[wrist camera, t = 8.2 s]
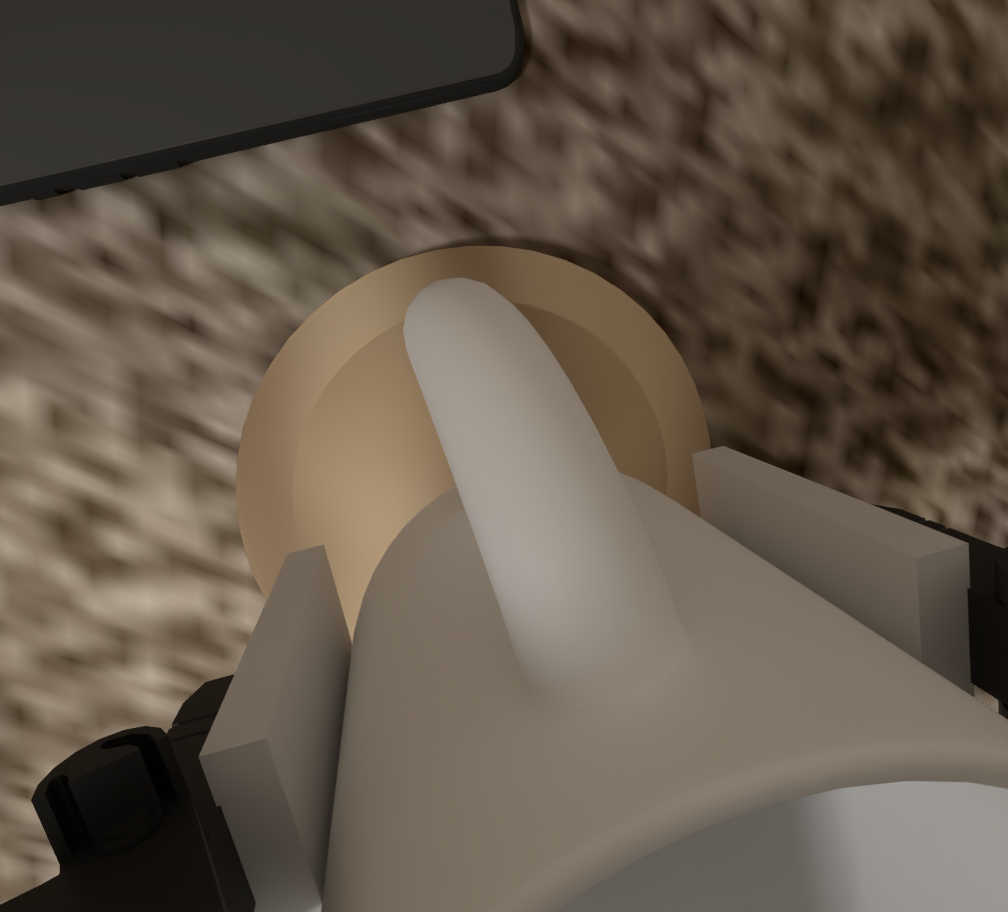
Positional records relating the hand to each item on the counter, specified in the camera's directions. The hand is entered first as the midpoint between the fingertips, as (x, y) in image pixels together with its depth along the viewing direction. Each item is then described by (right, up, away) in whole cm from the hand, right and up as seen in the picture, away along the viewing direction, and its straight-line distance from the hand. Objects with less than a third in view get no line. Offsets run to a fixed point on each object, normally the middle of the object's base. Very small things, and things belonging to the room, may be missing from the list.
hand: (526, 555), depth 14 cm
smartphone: (-8, +14, +2) cm, 16 cm away
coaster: (-1, +1, +5) cm, 6 cm away
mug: (0, 0, +1) cm, 1 cm away
